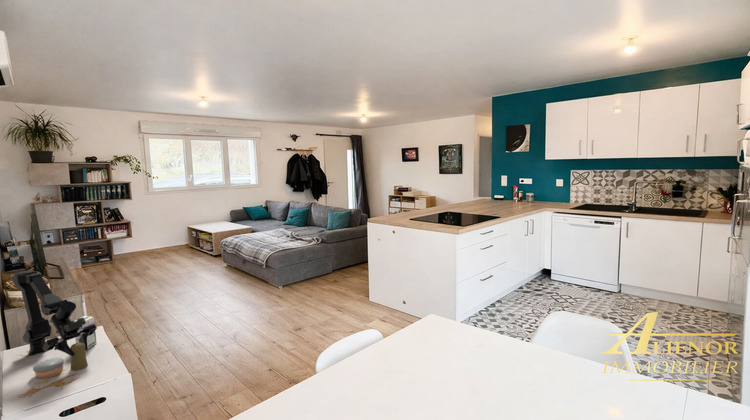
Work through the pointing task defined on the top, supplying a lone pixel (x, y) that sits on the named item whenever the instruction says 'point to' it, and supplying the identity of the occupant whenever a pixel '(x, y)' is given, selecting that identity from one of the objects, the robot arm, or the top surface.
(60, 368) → the bowl
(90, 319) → the syrup box
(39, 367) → the lid
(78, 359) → the cork
